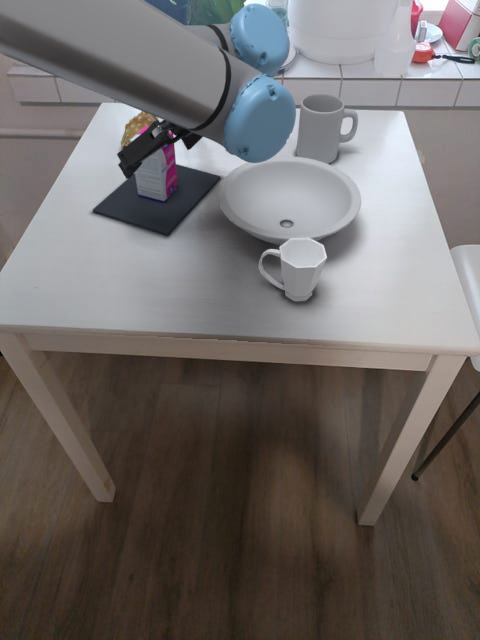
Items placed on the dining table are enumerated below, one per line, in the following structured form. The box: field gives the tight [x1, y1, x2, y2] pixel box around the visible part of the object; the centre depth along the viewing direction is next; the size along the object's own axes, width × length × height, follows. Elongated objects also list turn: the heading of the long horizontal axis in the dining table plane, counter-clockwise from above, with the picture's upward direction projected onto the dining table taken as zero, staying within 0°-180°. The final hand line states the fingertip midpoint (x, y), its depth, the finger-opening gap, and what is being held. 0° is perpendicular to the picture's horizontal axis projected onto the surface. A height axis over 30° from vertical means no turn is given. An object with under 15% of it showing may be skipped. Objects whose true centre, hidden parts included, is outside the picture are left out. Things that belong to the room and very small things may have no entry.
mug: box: [295, 93, 359, 165], centre depth 99 cm, size 12×8×11 cm
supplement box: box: [130, 126, 178, 203], centre depth 88 cm, size 6×6×12 cm
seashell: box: [120, 110, 159, 150], centre depth 105 cm, size 9×8×10 cm
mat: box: [92, 163, 221, 237], centre depth 93 cm, size 16×20×1 cm
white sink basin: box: [217, 155, 362, 246], centre depth 84 cm, size 24×24×7 cm
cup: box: [257, 238, 328, 302], centre depth 73 cm, size 7×10×8 cm
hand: (155, 156), depth 86 cm, fingers open, 13 cm apart
